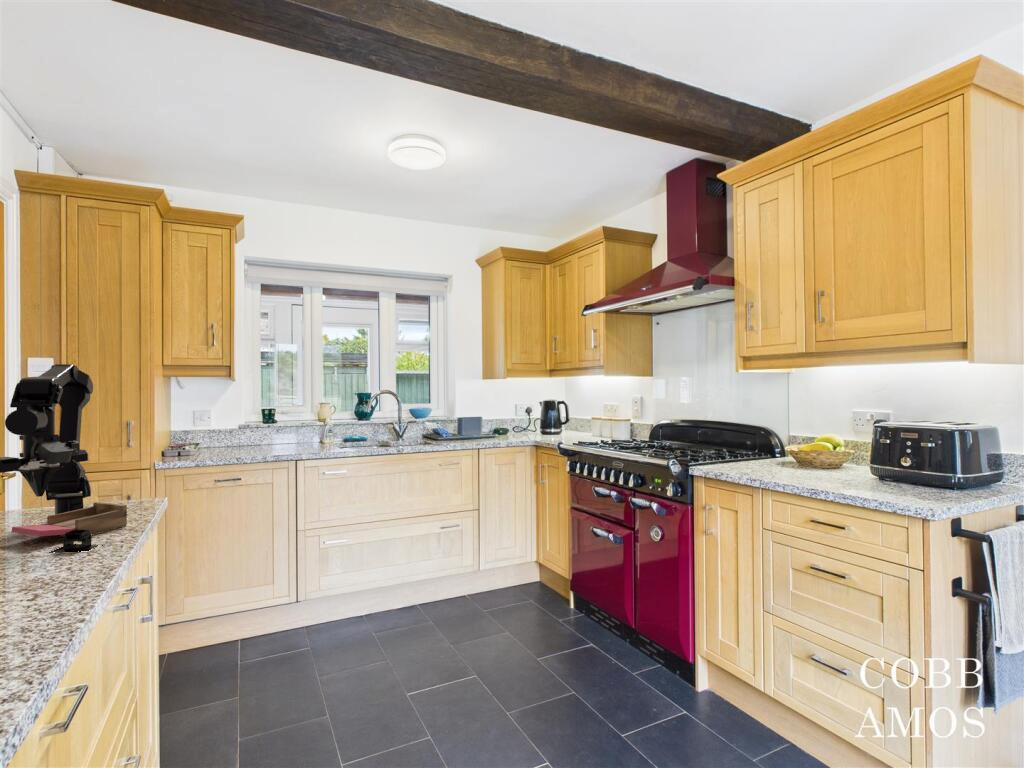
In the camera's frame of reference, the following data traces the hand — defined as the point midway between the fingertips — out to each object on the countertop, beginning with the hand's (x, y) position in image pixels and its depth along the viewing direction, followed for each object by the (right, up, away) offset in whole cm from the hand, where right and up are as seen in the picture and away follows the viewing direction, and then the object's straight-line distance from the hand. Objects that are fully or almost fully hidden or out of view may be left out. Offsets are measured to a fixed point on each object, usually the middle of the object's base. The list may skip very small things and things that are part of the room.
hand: (39, 496), depth 130 cm
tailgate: (+2, -8, +4) cm, 10 cm away
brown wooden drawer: (+3, -11, +10) cm, 15 cm away
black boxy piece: (+13, -12, -5) cm, 18 cm away
